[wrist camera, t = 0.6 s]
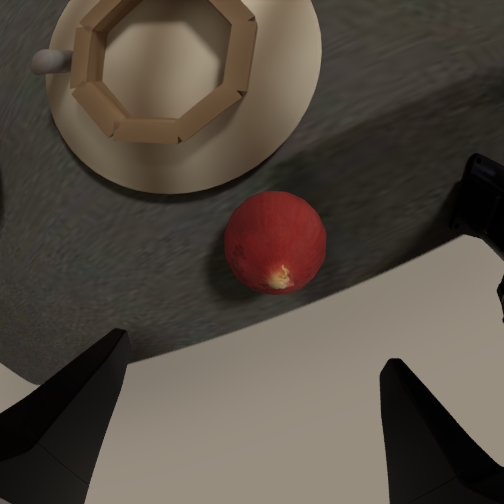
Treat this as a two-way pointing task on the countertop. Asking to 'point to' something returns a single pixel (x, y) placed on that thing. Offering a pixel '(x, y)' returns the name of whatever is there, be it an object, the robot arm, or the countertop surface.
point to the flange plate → (179, 86)
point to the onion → (275, 242)
